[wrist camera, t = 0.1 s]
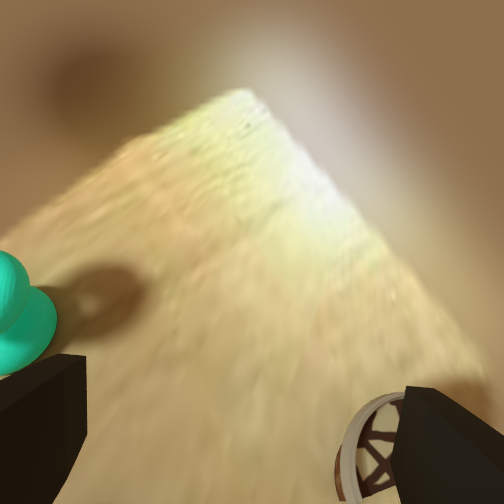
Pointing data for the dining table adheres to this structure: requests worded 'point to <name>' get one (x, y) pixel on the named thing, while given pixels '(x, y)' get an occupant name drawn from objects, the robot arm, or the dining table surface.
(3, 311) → the donuts
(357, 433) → the food container
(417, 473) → the robot arm
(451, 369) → the dining table surface
